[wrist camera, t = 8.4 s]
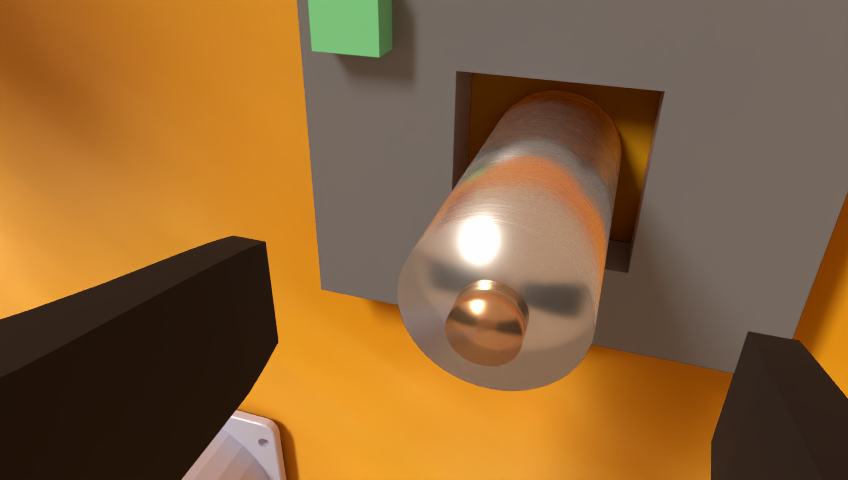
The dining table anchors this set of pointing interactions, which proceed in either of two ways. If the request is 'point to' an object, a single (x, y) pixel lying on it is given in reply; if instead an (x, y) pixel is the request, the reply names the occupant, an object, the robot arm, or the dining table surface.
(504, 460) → the dining table surface
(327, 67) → the block
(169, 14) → the dining table surface
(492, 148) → the battery cell
